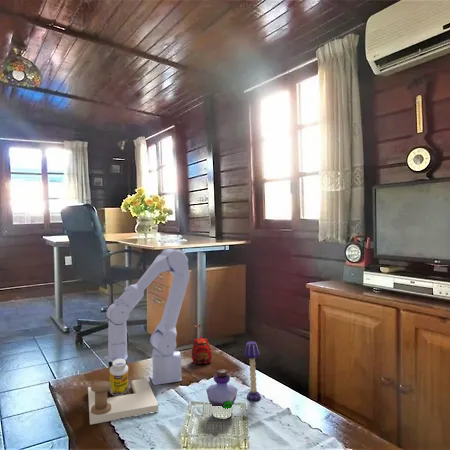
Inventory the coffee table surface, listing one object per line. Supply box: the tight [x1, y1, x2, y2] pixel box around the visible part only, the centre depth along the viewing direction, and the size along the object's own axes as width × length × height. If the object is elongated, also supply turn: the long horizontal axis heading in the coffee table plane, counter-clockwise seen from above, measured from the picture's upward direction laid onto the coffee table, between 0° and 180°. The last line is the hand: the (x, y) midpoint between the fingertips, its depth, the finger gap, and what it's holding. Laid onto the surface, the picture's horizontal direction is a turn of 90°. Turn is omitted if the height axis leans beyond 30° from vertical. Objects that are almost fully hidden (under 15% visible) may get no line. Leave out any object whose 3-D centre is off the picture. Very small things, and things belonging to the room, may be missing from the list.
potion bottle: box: [205, 369, 238, 409], centre depth 105 cm, size 9×9×12 cm
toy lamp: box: [243, 340, 262, 402], centre depth 115 cm, size 5×5×17 cm
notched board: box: [87, 378, 159, 426], centre depth 113 cm, size 18×20×9 cm
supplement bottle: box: [108, 359, 129, 397], centre depth 118 cm, size 6×6×10 cm
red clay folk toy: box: [191, 320, 213, 365], centre depth 146 cm, size 8×7×15 cm
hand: (118, 384), depth 122 cm, fingers closed
